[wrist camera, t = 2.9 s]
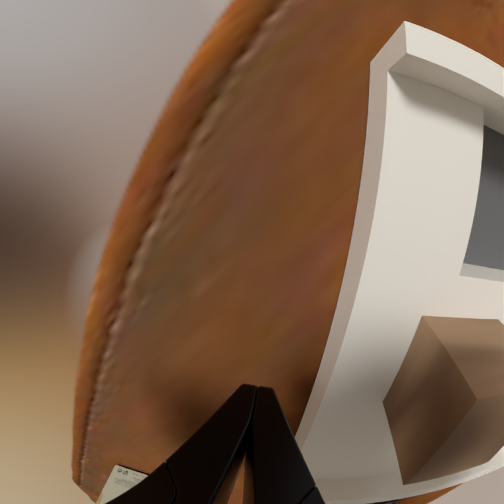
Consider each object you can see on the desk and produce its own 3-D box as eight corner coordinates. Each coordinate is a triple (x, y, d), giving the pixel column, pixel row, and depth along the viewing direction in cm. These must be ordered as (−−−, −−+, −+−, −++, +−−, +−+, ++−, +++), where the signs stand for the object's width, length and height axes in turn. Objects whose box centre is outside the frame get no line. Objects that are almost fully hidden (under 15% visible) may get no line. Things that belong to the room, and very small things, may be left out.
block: (457, 396, 9) (488, 462, 5) (382, 401, 9) (403, 485, 5) (498, 319, 7) (553, 379, 4) (421, 315, 8) (476, 399, 4)
